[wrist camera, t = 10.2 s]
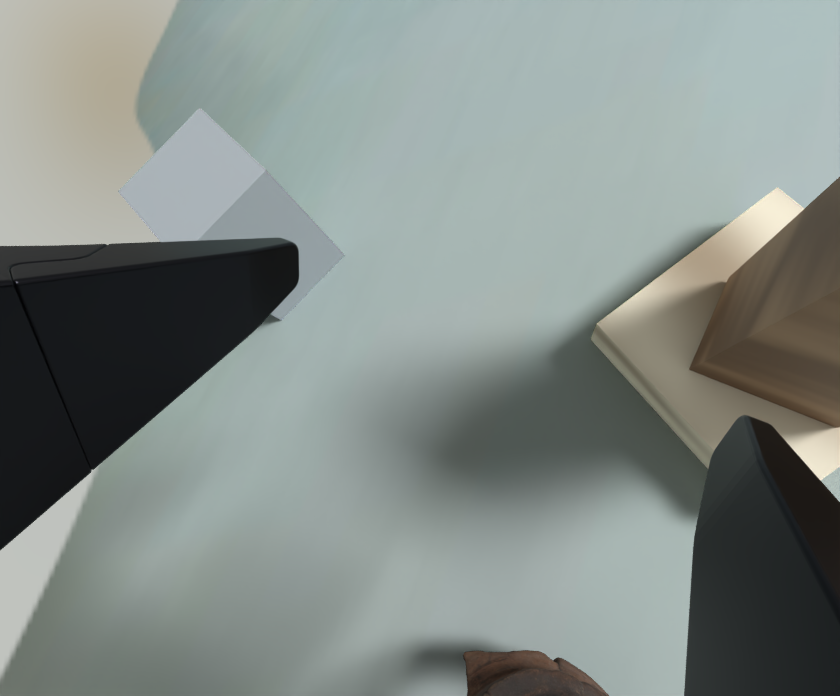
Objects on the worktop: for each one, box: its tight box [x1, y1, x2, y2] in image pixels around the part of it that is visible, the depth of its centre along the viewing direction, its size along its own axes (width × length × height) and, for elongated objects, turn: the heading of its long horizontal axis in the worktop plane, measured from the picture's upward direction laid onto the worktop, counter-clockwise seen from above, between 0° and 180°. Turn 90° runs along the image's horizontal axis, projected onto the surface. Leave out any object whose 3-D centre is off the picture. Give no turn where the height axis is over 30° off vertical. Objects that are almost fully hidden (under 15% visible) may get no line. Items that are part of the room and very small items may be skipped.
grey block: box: [118, 108, 345, 320], centre depth 23 cm, size 5×5×8 cm
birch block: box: [591, 187, 840, 480], centre depth 19 cm, size 9×9×3 cm
